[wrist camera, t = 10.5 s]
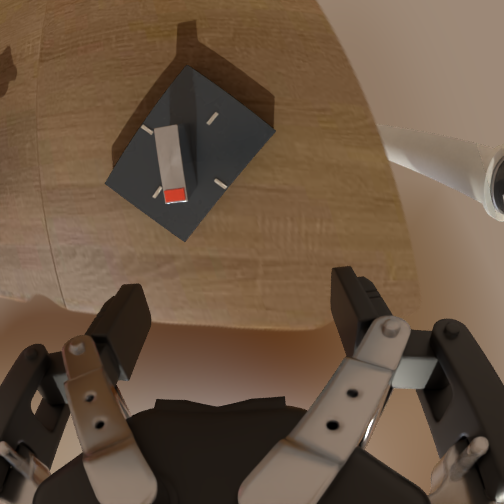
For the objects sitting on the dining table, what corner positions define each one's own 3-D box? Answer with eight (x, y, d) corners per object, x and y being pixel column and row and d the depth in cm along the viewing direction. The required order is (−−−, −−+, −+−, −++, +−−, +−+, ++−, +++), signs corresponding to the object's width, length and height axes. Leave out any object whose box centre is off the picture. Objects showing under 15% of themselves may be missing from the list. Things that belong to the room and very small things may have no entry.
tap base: (191, 68, 27) (186, 64, 25) (273, 129, 30) (276, 131, 28) (113, 178, 32) (103, 184, 29) (188, 233, 35) (184, 243, 33)
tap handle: (169, 125, 27) (152, 128, 22) (189, 122, 27) (176, 124, 22) (178, 188, 30) (164, 205, 25) (197, 186, 30) (187, 202, 25)
